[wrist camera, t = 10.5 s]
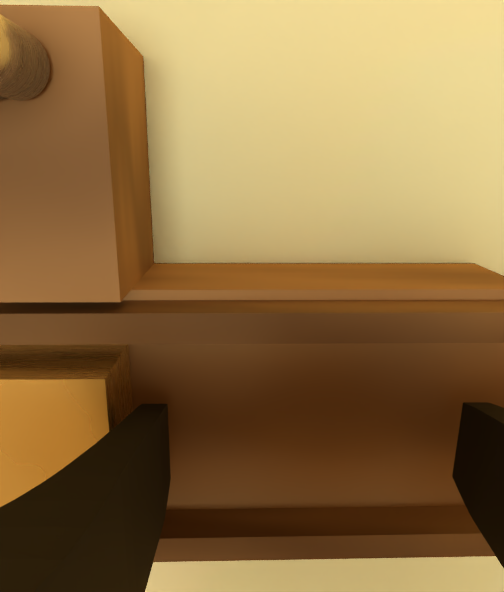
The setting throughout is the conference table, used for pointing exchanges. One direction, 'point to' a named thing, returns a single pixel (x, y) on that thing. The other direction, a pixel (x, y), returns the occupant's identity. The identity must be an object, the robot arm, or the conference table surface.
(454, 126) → the conference table surface
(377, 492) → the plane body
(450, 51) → the conference table surface
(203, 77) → the conference table surface
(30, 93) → the lever
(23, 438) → the wooden block
